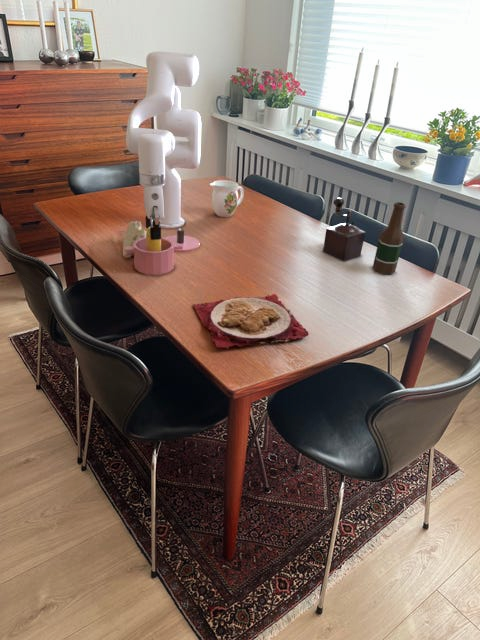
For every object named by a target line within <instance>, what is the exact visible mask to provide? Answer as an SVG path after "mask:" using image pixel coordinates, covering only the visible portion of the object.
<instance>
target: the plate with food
mask: <svg viewBox="0 0 480 640" xmlns="http://www.w3.org/2000/svg"><path fill="white" fill-rule="evenodd" d="M192 307H193V308H194V310H195V311H196V313H197V316H198V317H199V319H200V321H201V323H202V325H203V327H204V328H206V329H208V330H210V334H209V337H210V340H211V341H212V343H214V344H215V347H216V348H221V349H223V348H226V349H229V348H230V347H234V346H237V347H238V348H243V347H244V346H247V345H248V346H249V345H257V344H262V345H263V344H266V342H265V341H259V340H263V339H269V338H274V340H272V341H271V343H272V344H275V345H276V344H277V343H278V342H283V343H284V342H285V343H286V342H287V343H288V342H290V341H294V340H297V339H301V338H302V339H303V338H305V337H308V336H309V335H310V333H309V331H308V330H306V328H305V327H304V326H303V325H302V324H301V322H299V321H298V320H297V319H296V317H294V314H290V311H291V310H290V309H287V308H286V306H285V304H283V303H282V300H279V297H278V295H277V294H275V293H273V294H268V295H266V296H265V297H253V296H250V297H249V296H248V297H243V296H241V297H240V296H235V297H233V298H227V299H223V300H222V299H220V300H216V301H214V302H205V303H201V304H199V303H198V304H192Z"/></svg>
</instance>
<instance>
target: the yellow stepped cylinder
mask: <svg viewBox="0 0 480 640" xmlns="http://www.w3.org/2000/svg"><path fill="white" fill-rule="evenodd" d="M146 247H147V251H151V252H157V251H161V239H160V240H151V239H150V227H148V228H147V231H146Z"/></svg>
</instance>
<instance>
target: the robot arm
mask: <svg viewBox="0 0 480 640" xmlns="http://www.w3.org/2000/svg"><path fill="white" fill-rule="evenodd" d="M199 63H200V62H199V60H198V57H197V55H195V54H193V53H182V52H173V51H172V52H171V51H151V52H149V53H148V54H147V55H146V58H145V64H146V69H147V83H146V91H145V92H146V93H145V97H144V98H143V99H142V100H140V101H139V102H138V103H137V104H136V105H135V107H133V108H132V110H131V111H130V113H129V115H128V119H127V125H126V135H125V144H126V148H127V150H128V152H129V153H131V154H133V155H138V176H139V178H138V179H139V181H138V182H139V185H140V186H143V187H142V188H143V190H142V191H143V192H142V193H143V207H144V212H145V228H146V229H148V227H150V239H151V240H160V239H161V237H162V228H164V229H174V228H181V227H183V226H184V224H185V219H184V218H183V217H182V215H181V214H182V213H181V212H182V211H181V210H182V207H181V206H182V198H181V197H182V180H181V177H180V175H179V173H178V171H177V170H176V169H188V170H195V169H197V168H199V166H200V163H201V155H202V154H201V153H202V151H201V149H202V119H201V115H200V113H199V112H198V110H195V109H191V108H182V107H181V97H182V94H181V91H180V89H179V87H186V88H191V87H193V86H194V85H195V84H196V82H197V80H198V78H199V74H200V73H199V72H200V64H199ZM154 117H155V118H156V121H155V122H156V128H147V127H146V128H145V127H140V125H141V124H142V123H144V122H145V121H147V120H149V119H151V118H154ZM175 137H176V138H186V139H187V141H186V140H176V139H175Z"/></svg>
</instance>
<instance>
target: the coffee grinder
mask: <svg viewBox="0 0 480 640" xmlns="http://www.w3.org/2000/svg"><path fill="white" fill-rule="evenodd" d="M344 204H345V200H344V199H343V197H337V198H335V199H334V200H333V205H334V206H335V209H334V215H335V216H337V217H340V218H341V217H342V218H346V220H345V222H344V223H339V224H336V225H332V226H329V227H326V229H325V235H324V240H323V241H324V242H323V247H322V252H323V253H325V254H326V255H328V256H329V257H330V256H331V257H332V258H334V259H337V260H339V261H341V262H346V261H349V260H352V259H356V258H358V257H361V255H362V250H363V245H364V241H365V236H366V231H364V230H362V229H360V228H359V227H357V226H355V225H354V224H355V223H354V222H351V223H349V222H350V218H351V217H352V215H351V213H352V211H351V210H347V213H346V214H343V213H340V212H342V211H343V210H344V209H343V206H344Z"/></svg>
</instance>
